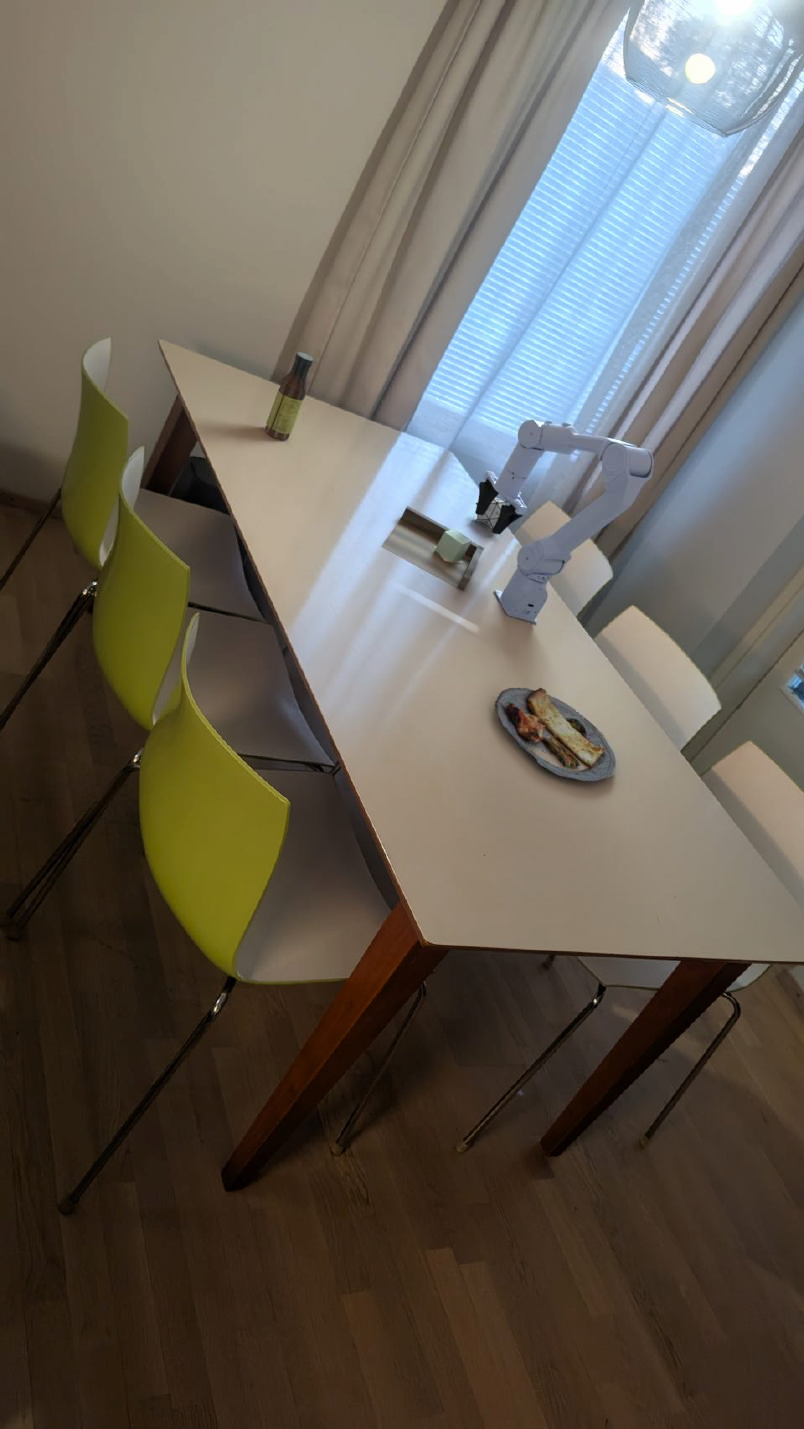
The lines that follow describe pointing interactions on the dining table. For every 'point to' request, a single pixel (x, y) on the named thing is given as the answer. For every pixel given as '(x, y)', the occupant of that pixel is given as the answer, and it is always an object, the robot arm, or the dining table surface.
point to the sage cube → (453, 545)
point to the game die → (491, 513)
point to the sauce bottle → (289, 399)
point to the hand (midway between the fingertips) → (487, 523)
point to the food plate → (555, 733)
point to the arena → (430, 548)
